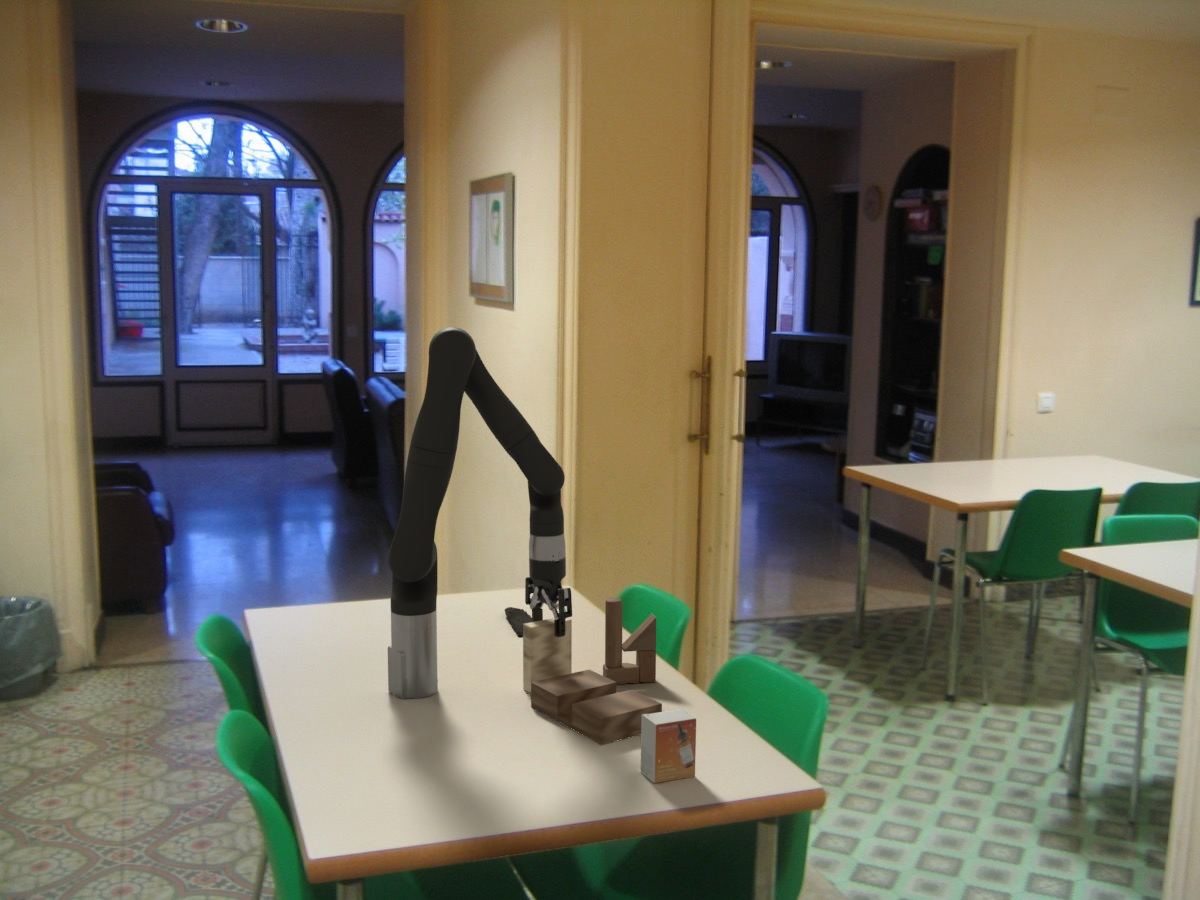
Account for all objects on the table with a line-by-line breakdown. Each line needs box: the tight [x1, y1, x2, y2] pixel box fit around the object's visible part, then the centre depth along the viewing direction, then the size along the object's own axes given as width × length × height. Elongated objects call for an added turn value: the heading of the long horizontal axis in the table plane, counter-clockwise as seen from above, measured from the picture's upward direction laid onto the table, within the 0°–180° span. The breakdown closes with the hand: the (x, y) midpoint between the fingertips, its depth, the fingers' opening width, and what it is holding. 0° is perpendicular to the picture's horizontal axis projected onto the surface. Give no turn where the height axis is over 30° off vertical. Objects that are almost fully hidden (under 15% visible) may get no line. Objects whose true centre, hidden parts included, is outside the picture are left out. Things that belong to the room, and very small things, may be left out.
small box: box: [640, 708, 697, 784], centre depth 202 cm, size 8×6×10 cm
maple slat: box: [522, 617, 573, 694], centre depth 246 cm, size 10×3×14 cm, turn 125°
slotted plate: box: [530, 669, 663, 746], centre depth 229 cm, size 14×24×5 cm, turn 35°
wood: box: [504, 606, 532, 638], centre depth 292 cm, size 22×7×3 cm, turn 15°
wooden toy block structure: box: [602, 597, 657, 685], centre depth 249 cm, size 4×11×18 cm, turn 102°
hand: (548, 631), depth 245 cm, fingers open, 8 cm apart
